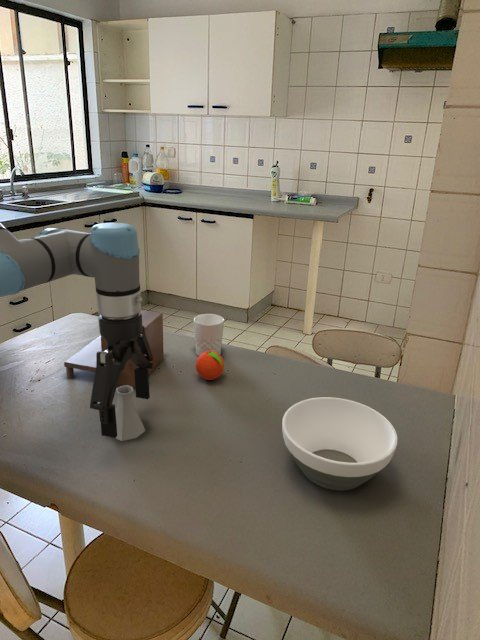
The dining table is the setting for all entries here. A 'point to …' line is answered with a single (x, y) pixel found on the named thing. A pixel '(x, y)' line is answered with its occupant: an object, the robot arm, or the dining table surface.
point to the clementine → (210, 365)
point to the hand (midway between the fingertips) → (127, 415)
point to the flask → (127, 415)
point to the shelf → (127, 377)
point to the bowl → (338, 440)
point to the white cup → (208, 333)
